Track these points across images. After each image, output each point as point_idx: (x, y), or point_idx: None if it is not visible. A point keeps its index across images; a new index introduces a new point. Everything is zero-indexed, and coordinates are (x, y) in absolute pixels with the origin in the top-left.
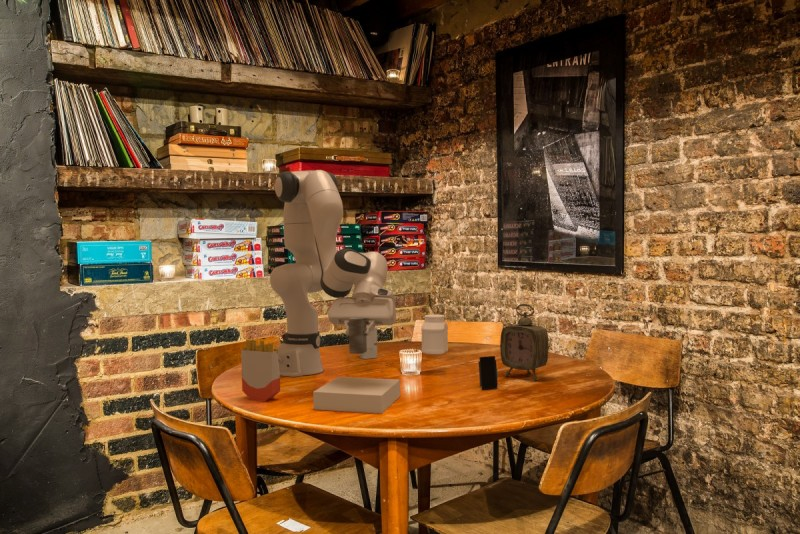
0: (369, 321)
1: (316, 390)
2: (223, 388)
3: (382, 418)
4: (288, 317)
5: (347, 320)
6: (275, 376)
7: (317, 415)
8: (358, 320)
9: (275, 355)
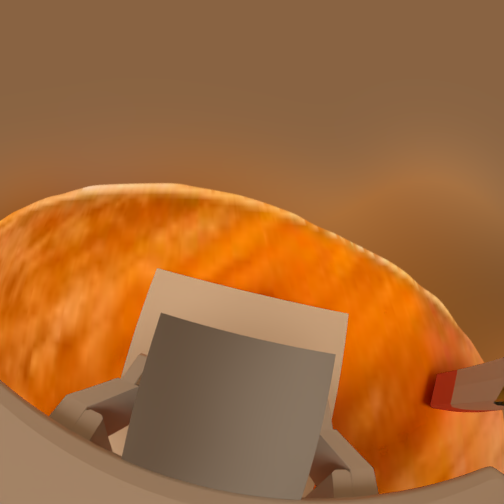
0: (95, 426)
1: (344, 328)
2: (501, 441)
3: (167, 249)
4: None
5: (349, 487)
6: (459, 382)
7: (311, 276)
8: (204, 328)
9: (499, 376)
